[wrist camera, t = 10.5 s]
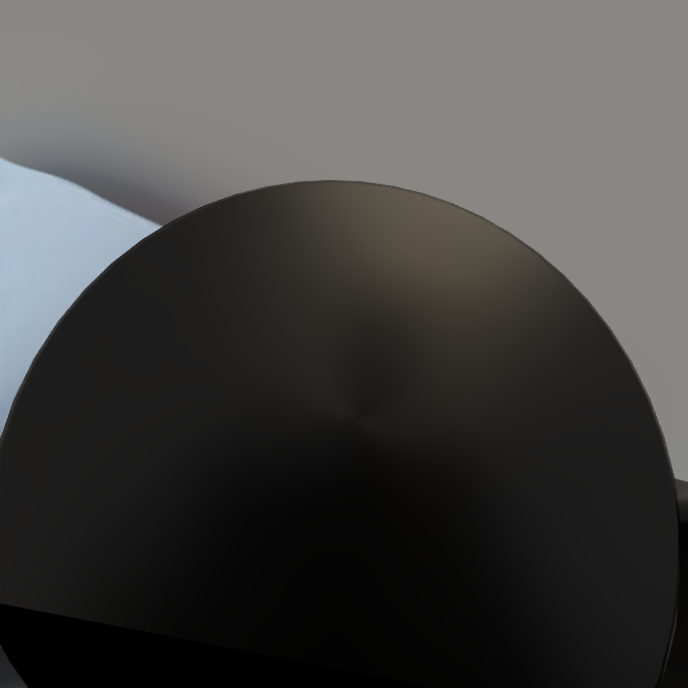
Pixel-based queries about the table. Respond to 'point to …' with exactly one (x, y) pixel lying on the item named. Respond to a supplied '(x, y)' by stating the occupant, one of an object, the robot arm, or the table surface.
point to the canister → (335, 463)
